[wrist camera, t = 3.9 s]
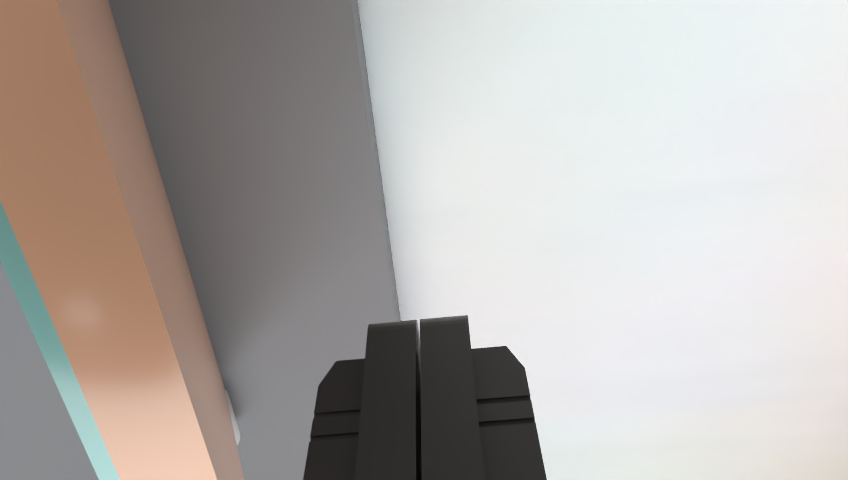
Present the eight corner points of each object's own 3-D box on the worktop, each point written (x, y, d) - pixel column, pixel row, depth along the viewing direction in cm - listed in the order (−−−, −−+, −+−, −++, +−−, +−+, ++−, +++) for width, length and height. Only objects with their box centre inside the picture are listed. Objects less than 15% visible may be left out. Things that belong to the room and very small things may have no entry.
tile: (66, -137, 15) (-13, -129, 15) (21, -104, 7) (-161, -81, 7) (223, 385, 22) (172, 400, 22) (293, 708, 14) (213, 742, 14)
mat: (-637, -423, 14) (-882, -475, 12) (284, -539, 14) (253, -622, 11) (-66, 497, 28) (-119, 573, 25) (419, 460, 27) (419, 534, 24)
